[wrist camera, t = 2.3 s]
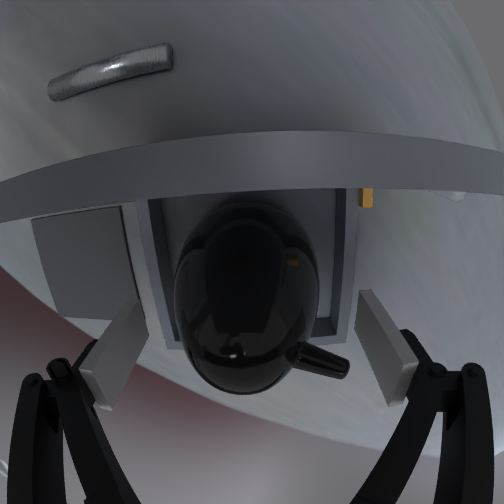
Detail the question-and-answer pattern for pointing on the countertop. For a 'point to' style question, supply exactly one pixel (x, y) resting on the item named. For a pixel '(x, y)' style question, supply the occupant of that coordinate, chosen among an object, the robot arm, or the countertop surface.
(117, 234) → the pad
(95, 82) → the rod
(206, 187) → the case
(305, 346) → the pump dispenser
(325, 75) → the countertop surface
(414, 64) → the countertop surface
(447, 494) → the robot arm
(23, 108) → the countertop surface
